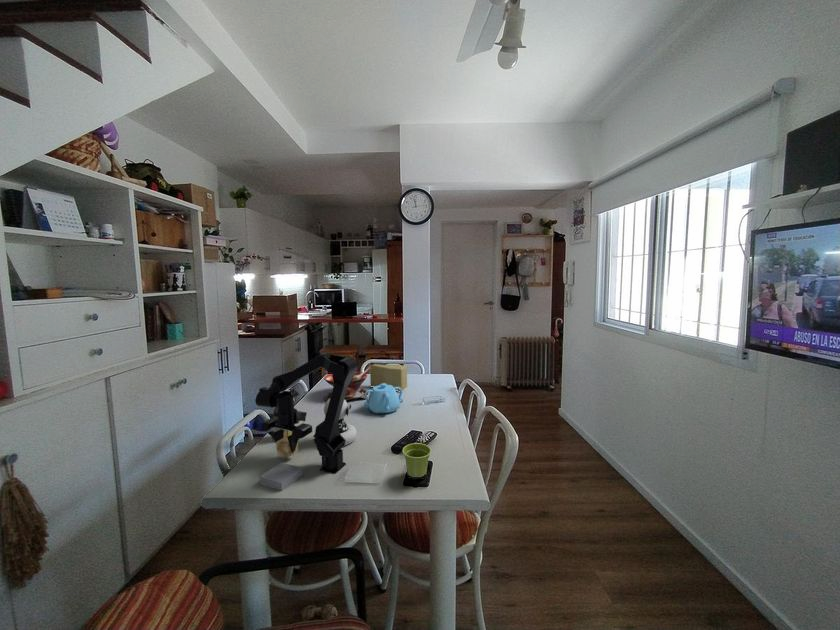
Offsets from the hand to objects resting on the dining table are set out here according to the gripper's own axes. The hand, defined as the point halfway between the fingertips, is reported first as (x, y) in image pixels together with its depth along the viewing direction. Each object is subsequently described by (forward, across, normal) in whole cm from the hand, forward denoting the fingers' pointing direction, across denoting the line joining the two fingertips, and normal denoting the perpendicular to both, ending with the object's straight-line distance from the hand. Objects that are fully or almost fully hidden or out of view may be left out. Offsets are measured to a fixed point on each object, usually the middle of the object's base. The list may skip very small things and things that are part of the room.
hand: (287, 450), depth 117 cm
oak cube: (+1, 0, 0) cm, 1 cm away
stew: (+4, +18, -65) cm, 68 cm away
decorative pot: (+4, -10, -54) cm, 55 cm away
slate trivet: (+4, -7, +10) cm, 13 cm away
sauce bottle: (+4, +14, -12) cm, 19 cm away
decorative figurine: (+4, -8, -19) cm, 21 cm away
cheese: (+4, +3, -84) cm, 84 cm away
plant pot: (+4, -47, -8) cm, 48 cm away
